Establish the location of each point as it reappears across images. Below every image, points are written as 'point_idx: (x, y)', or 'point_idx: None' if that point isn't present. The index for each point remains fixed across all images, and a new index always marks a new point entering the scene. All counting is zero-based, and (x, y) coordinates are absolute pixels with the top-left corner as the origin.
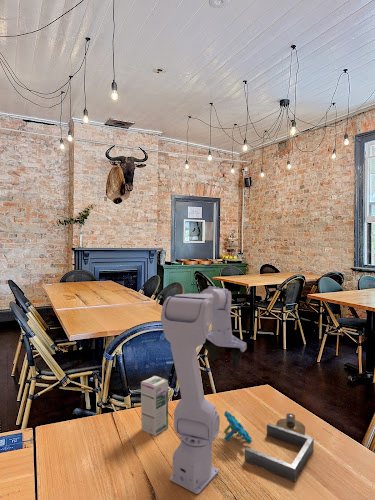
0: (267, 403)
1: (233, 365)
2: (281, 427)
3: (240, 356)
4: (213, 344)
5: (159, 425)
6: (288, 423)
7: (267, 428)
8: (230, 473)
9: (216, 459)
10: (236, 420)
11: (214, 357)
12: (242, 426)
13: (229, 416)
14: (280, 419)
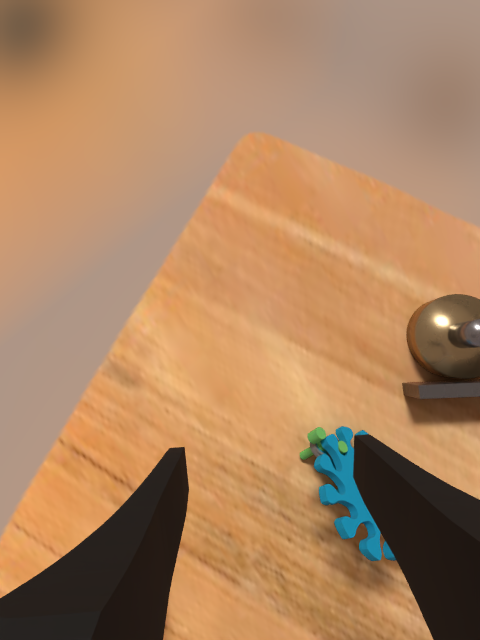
0: (312, 227)
1: (372, 510)
2: (463, 383)
3: (436, 480)
4: (142, 633)
5: None
6: (468, 347)
7: (416, 397)
8: (426, 627)
9: (361, 595)
10: (337, 447)
11: (184, 495)
12: (350, 434)
13: (357, 525)
14: (418, 321)
